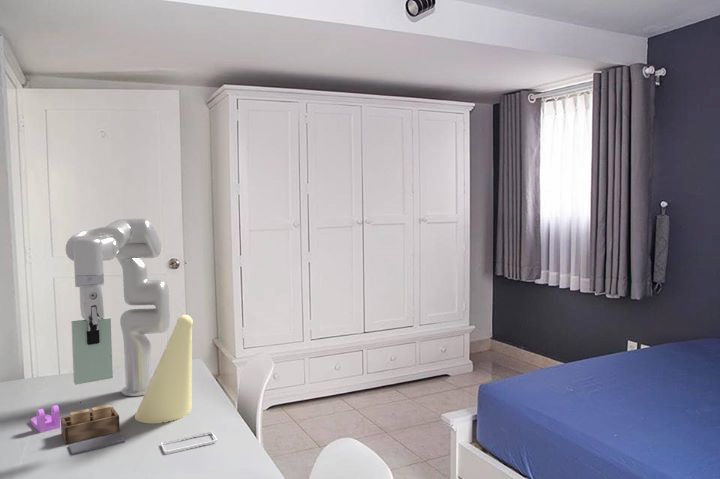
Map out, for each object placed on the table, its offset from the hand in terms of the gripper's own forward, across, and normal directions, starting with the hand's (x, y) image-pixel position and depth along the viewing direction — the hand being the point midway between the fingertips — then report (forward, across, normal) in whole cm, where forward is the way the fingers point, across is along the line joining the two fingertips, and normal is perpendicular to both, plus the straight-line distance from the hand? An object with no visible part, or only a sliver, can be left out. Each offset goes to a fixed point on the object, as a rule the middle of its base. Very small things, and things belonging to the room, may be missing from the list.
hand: (92, 342), depth 158 cm
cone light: (+31, +10, -24) cm, 40 cm away
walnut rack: (+31, +10, 0) cm, 32 cm away
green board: (+11, 0, 0) cm, 11 cm away
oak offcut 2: (+31, +8, -3) cm, 32 cm away
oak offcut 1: (+31, +8, +3) cm, 32 cm away
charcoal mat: (+31, 0, 0) cm, 31 cm away
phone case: (+31, -17, -22) cm, 42 cm away
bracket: (+31, +27, +11) cm, 43 cm away
